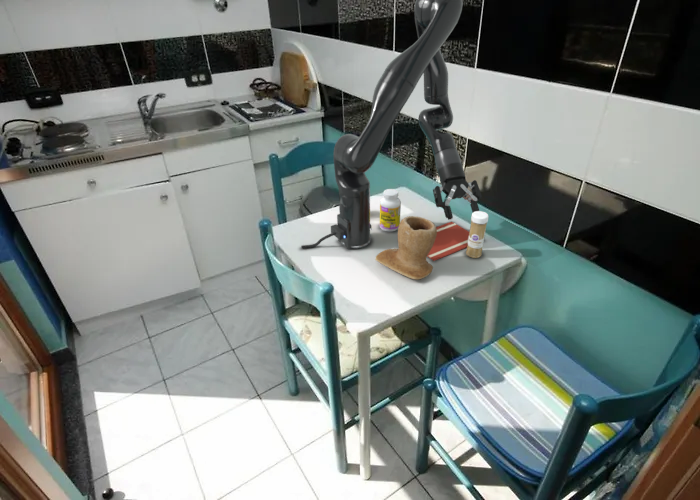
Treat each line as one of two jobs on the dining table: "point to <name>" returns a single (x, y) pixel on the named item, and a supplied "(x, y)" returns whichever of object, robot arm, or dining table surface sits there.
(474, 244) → the sprinkles bottle
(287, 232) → the dining table surface
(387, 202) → the supplement bottle
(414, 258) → the stone cup
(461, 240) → the dish cloth
